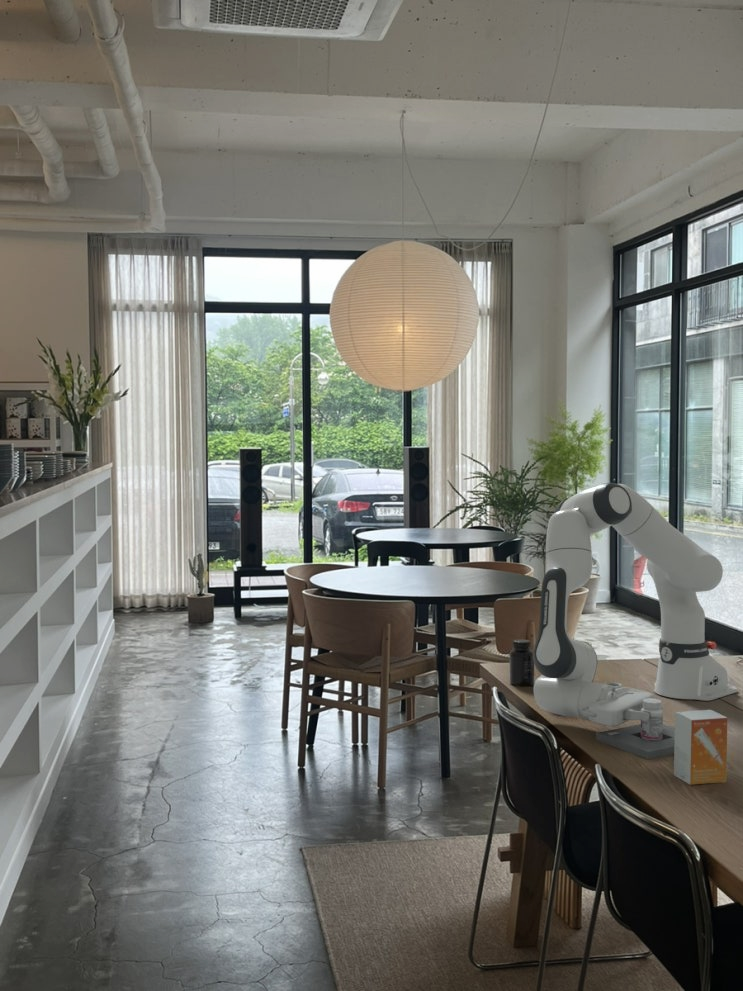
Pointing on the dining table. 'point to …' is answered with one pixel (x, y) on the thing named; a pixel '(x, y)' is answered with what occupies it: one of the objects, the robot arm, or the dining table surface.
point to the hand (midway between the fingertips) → (655, 713)
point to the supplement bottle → (521, 663)
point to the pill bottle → (652, 720)
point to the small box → (700, 746)
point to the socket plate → (639, 741)
